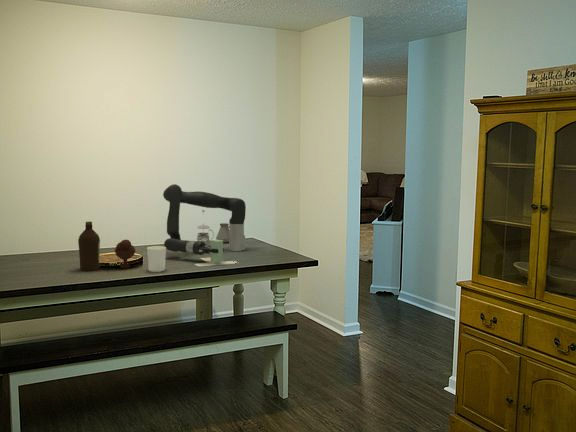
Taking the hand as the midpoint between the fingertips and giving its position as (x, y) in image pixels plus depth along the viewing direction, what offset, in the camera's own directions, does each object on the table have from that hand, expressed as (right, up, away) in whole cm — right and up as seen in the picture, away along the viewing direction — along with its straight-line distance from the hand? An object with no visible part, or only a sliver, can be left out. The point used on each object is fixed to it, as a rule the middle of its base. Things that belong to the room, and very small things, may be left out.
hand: (220, 250), depth 313 cm
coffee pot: (-4, 0, +73) cm, 73 cm away
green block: (-2, -6, +2) cm, 7 cm away
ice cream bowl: (-50, -8, -11) cm, 52 cm away
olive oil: (-66, -9, -18) cm, 69 cm away
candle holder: (-31, -9, -18) cm, 37 cm away
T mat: (-6, -7, +9) cm, 12 cm away
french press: (-17, -2, +52) cm, 55 cm away
